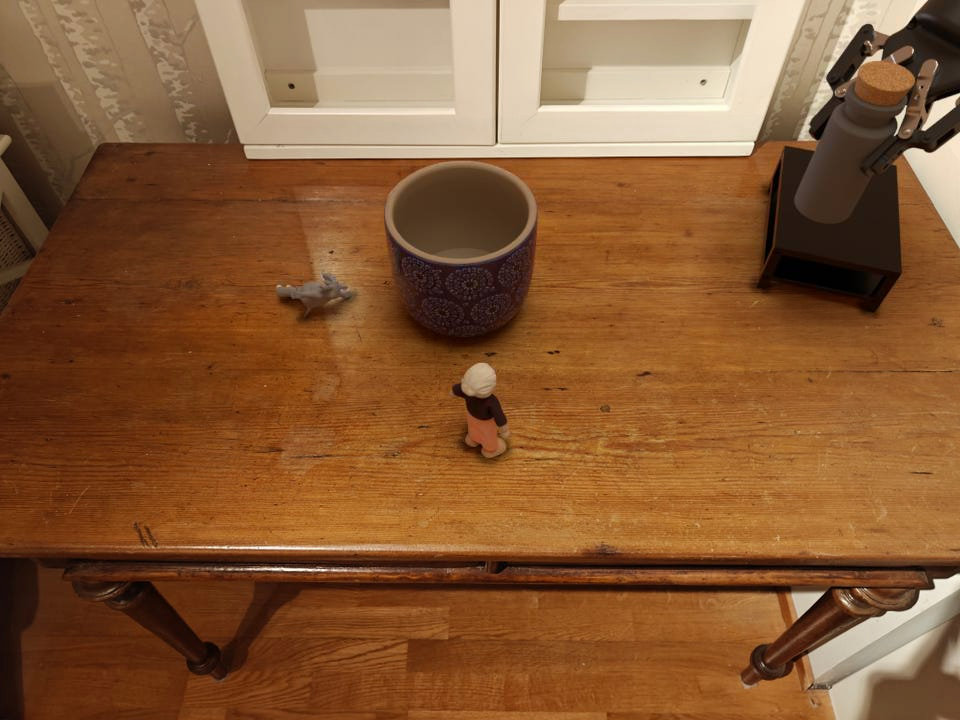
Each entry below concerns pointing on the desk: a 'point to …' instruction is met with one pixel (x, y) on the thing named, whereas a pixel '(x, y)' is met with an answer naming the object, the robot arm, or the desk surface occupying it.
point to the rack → (832, 238)
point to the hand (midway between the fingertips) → (838, 153)
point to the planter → (461, 245)
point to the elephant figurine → (315, 291)
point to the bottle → (853, 141)
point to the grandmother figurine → (482, 410)
